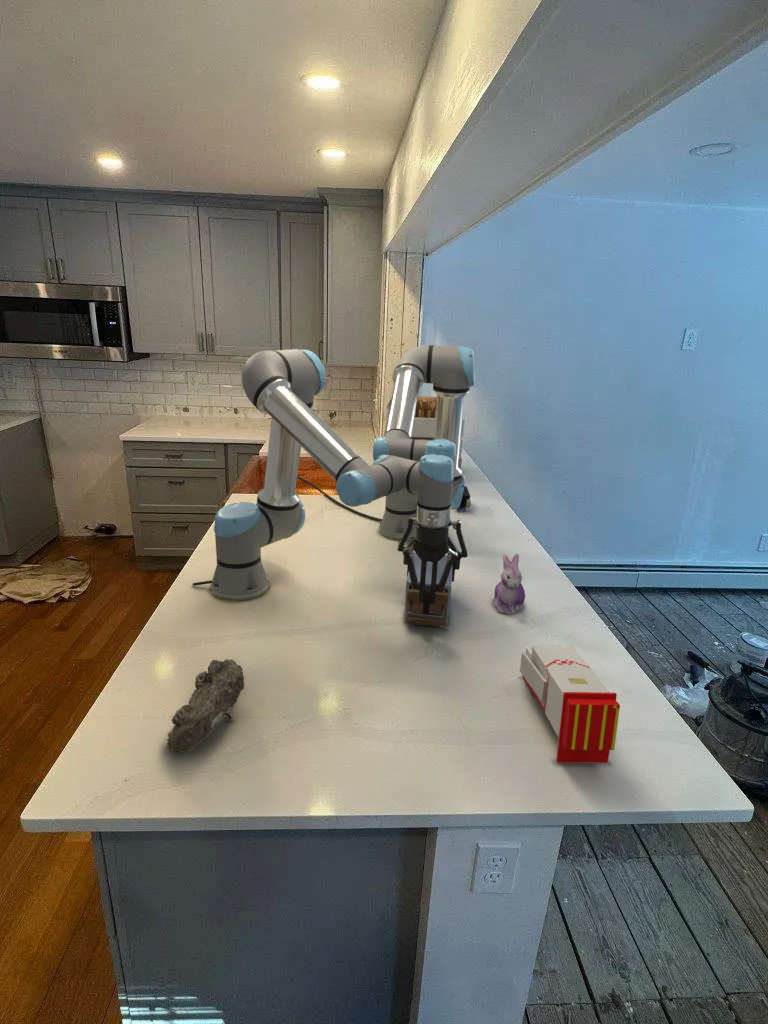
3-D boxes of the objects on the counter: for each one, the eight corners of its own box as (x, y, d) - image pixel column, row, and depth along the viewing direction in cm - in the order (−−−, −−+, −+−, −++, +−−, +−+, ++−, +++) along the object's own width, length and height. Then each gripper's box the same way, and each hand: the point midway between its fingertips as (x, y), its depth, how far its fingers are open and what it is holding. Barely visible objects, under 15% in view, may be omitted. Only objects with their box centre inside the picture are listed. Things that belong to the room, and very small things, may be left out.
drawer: (444, 641, 135) (447, 609, 132) (403, 637, 136) (404, 604, 133) (447, 595, 155) (450, 565, 151) (411, 591, 156) (412, 561, 152)
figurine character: (470, 516, 223) (465, 500, 237) (473, 499, 220) (467, 484, 233) (453, 516, 223) (449, 500, 236) (455, 498, 220) (451, 483, 233)
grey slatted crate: (382, 463, 289) (386, 382, 275) (445, 464, 293) (451, 384, 279) (390, 482, 257) (394, 392, 243) (460, 483, 261) (468, 394, 247)
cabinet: (447, 624, 144) (451, 586, 139) (404, 619, 145) (406, 581, 141) (449, 591, 159) (453, 555, 154) (410, 587, 160) (412, 552, 156)
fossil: (192, 660, 117) (244, 628, 112) (224, 691, 120) (276, 661, 115) (142, 746, 98) (202, 712, 93) (182, 779, 101) (242, 748, 96)
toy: (568, 628, 125) (630, 701, 96) (562, 684, 128) (620, 770, 99) (514, 627, 125) (559, 699, 96) (509, 683, 128) (551, 770, 98)
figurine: (507, 618, 147) (514, 566, 142) (483, 600, 156) (489, 550, 151) (534, 611, 152) (542, 560, 146) (510, 594, 160) (516, 545, 155)
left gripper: (402, 526, 126) (397, 619, 134) (461, 531, 125) (452, 625, 133) (405, 515, 133) (400, 604, 141) (461, 520, 132) (453, 609, 140)
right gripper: (389, 501, 144) (385, 579, 151) (483, 509, 141) (474, 588, 149) (392, 492, 151) (388, 567, 158) (482, 500, 148) (474, 575, 156)
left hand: (425, 614), depth 137 cm, fingers closed
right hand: (430, 577), depth 153 cm, fingers closed on cabinet, 11 cm apart
